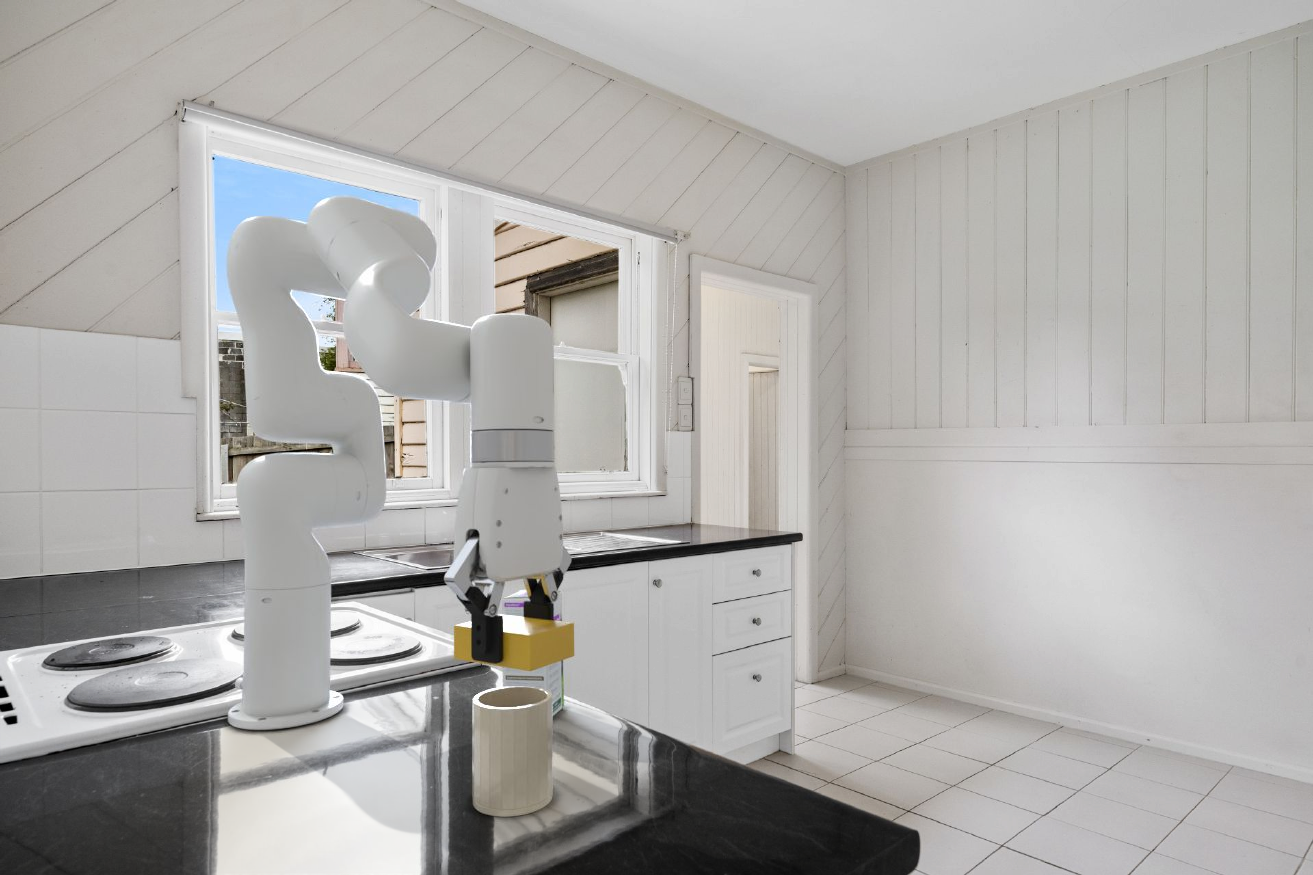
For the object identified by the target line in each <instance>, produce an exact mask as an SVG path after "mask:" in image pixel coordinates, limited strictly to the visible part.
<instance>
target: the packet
mask: <svg viewBox="0 0 1313 875" xmlns="http://www.w3.org/2000/svg"><path fill="white" fill-rule="evenodd" d="M498 615H502V613H501V614H498ZM502 616H503V660H502V662H500V663H497V664H494V663H488V662H481V661H475V660H473V659H472V656H471V620H470V621H467V622H462V623H459V624H454V625H453V659H454V660H458V661H464V662H471V663H477V664H483V665H490V666H496V667H501V668H503V667H507V668H513V669H519V670H525V671H533V670H536V669H539V668H541V667H544V666H547V665H550V664H553V663H556V662H559V661H562V660H563V661H565V660H567V659H571V658H573V657H575V622H570V621H563V620H562V621H554V620H545V619H536V618H528V617H519V616H511V615H502Z"/></svg>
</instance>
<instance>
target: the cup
mask: <svg viewBox="0 0 1313 875" xmlns="http://www.w3.org/2000/svg"><path fill="white" fill-rule="evenodd" d="M471 702H472V704H471V705H472V708H471V709H472V711H471V712H472V714H471V718H472V721H471V722H472V723H471V729H472V731H471V732H472V733H471V734H472V735H471V737H472V738H471V742H472V743H471V755H472V756H471V761H472V762H471V764H472V765H471V796H472V806H473V808H474V809H475V811H477V812H479V813H480V814H484V815H488V816H492V817H501V818H502V817H503V818H504V817H505V818H508V817H518V816H522V815H528V814H531V813H534V812H537V811H540V810H542V809H543V808H545V807H547V805H549V804H550V803H551V801H552V799H553V795H554V794H553V792H554V790H553V789H554V767H553V766H554V754H553V753H554V750H553V749H554V748H553V747H554V746H553V745H554V742H553V741H554V740H553V739H554V738H553V737H554V736H553V734H554V733H553V732H554V729H553V728H554V726H553V724H554V723H553V722H554V720H553V719H554V716H553V695H552V693H551V692H550V691H549V690H546V689H544V688H540V687H533V686H507V687H503V686H499V687H495V688H490V689H486V690H484V691H480V692H479V693H478V694H476V695H474V696H473V698H472V701H471Z"/></svg>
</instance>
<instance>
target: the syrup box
mask: <svg viewBox="0 0 1313 875" xmlns="http://www.w3.org/2000/svg"><path fill="white" fill-rule="evenodd" d="M557 591H558V599H557V601H556V602H552V603H554V621H562V622H563V596H562V594H563V593H562V591H561V590H559V589H558V590H557ZM524 601H530V599H529V598H528V595H527V591H526V589H519V590H518V591H517V592H515V593H512V594H510V595H508V596H504V597H502V598H501V600H500V602H501V614H502V615H511V616H519V617H524V613H523V606H524ZM507 686H533V687H540V688H544V689H546V690H549V691H550V692H551V693H552V695H553V717H554V716H555V715H556V714H557V713H558V712H560V711H561V710H562V709H563V708H564V707H565V693H564V692H565V689H564V687H565V686H564V660H562V661H559V662H556V663H553V664H550V665H547V666H544V667H541V668H539V669H536V670H533V671H525V670H519V669H513V668H507V667H502V687H507Z"/></svg>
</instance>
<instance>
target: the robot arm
mask: <svg viewBox="0 0 1313 875" xmlns="http://www.w3.org/2000/svg"><path fill="white" fill-rule="evenodd" d="M227 248H228V249H227V253H226V254H227V255H226V277H227V283H228V288H229V293H230V296H231V300H232V303H233V305H234V309H235V311H236V314H237V317H238V322H239V324H240V329H241V334H242V342H243V343H242V346H243V367H244V369H243V370H244V371H243V372H244V388H245V404H246V414H247V420H248V424H249V427H250V429H251V431H252V433H253V434H254V435H255V436H256V437H258V438H260V439H262V440H264V441H268V442H274V443H282V444H283V443H286V444H317V445H318V444H319V445H331V448H332V451H333V452H332V453H323V452H322V453H320V452H275V453H269V454H264V455H260V456H257V457H255V458H254V459H252V460H250V461H249V462H248V463H246V464H245V465H244V466H243V467H242V469H241V470H240V472H239V474H238V477H237V480H236V488H235V490H236V492H235V493H236V502H237V508H238V513H239V519H240V525H241V530H242V539H243V556H244V608H243V609H244V610H243V674H242V677H238V678H236V680H235V681H234V687H235V688H236V689H238V690H241V701H240V702H238V703H237V704H235V705H233V706H232V707H231V708H230V709H228V712H227V723H229V725H231V726H232V727H234V728H237V729H241V730H242V729H243V730H250V731H252V730H254V731H268V730H269V731H270V730H281V729H288V728H295V727H300V726H304V725H309V724H313V723H317V722H319V721H320V722H321V721H322V720H325V719H327V718H330V717H332V716H334V715H336V714H337V713H339V712H341V710H342V709H343V708H344V704H345V703H344V701H345V700H344V696H343V695H342V694H341V693H339V692H337V691H335V690H331V649H332V648H331V646H332V645H331V641H332V640H331V639H332V638H331V637H332V636H331V634H332V633H331V631H332V626H331V625H332V567H331V562H330V558H329V556H328V554H327V553H326V551H325V550H324V547H323V546H322V545H321V544H320V542H319V541H318V539H317V537H315V534H314V533H313V530H320V529H321V530H322V529H333V528H335V529H336V528H347V527H348V528H349V527H358V526H363V525H367V524H370V523H372V522H374V521H375V520H377V518H378V517H379V516H380V515H381V513H382V512H383V509H384V507H385V504H386V499H387V468H386V467H387V466H386V452H385V440H384V438H385V437H384V426H383V423H384V422H383V414H382V407H381V401H380V399H379V396H378V393H377V391H376V390H375V388H374V386H373V385H372V384H371V383H370V382H369V381H368V380H367V379H366V378H364V377H363V376H360V375H357V374H353V373H350V372H341V371H332V370H325V369H324V368H323V366H322V365H321V360H320V353H319V352H320V351H319V336H318V333H317V330H316V327H315V326H314V324H313V322H312V321H311V319H310V318H309V316H308V314H307V313H306V311H305V310H304V308H303V307H302V306H301V305H300V304H299V303H298V301H297V300H296V299H295V298H294V297H293V295H292V292H297V293H298V292H299V293H303V294H308V295H313V296H319V297H323V298H324V297H325V298H330V299H335V300H339V301H340V300H341V301H344V304H343V309H342V329H343V337H344V341H345V345H346V347H347V349H348V351H349V353H350V354H351V356H352V357H353V359H354V360H355V361H356V363H357V364H358V365H359V367H360V368H361V370H362V371H363V372H364V373H365V375H366V376H367V378H369V379H370V381H371V382H372V383H373V384H374V385H375V386H377V387H378V388H379V389H380V390H382V391H384V392H385V393H387V394H389V395H391V396H393V397H397V398H402V399H407V400H408V399H409V400H421V401H422V400H423V401H434V402H435V401H436V402H438V401H439V402H449V403H453V404H454V403H455V404H468V405H469V406H470V407H469V408H470V410H469V411H470V412H469V414H470V415H469V417H470V419H469V420H470V426H469V427H470V433H469V434H470V436H469V438H470V440H469V441H470V443H469V444H470V445H469V446H470V448H469V449H470V451H469V452H470V456H469V457H470V461H469V462H470V468H469V467H468V468H467V467H466V468H465V467H464V468H463V471H462V476H461V480H460V485H459V490H458V496H457V504H456V510H455V522H454V525H455V526H454V539H453V540H454V541H453V562H452V563H451V565H450V566H449V568H448V569H447V571H446V572H445V574H444V576H443V581H444V583H445V584H446V585H447V587H448V588H449V589H450V590H451V591H452V592H453V594H456V598H457V600H458V602H460V603H461V604H462V605H463V606H464V611H465V613H466V614H467V615H471V616H470V621H471V656H472V659H473V660H475V661H481V662H488V663H494V664H497V663H500V662H502V660H503V616H502V615H499V614H498V612H499V608H500V604H501V599H502V598H503V597H502V596H503V592H504V588H505V585H506V582H511V581H517V580H522V581H523V584H524V587H525V590H526V591H527V595H528V598H529V599H530V601H524V606H523V613H524V617H528V618H536V619H545V620H554V603H552V602H556V601H557V599H558V591H559V588H560V587H561V585H562V583H563V581H564V576H565V574H566V573H567V571H568V569H569V567H570V565H571V564H572V556H571V555H570V553H569V551H568V550H567V548H566V547H565V545H564V524H563V522H564V520H563V510H562V498H561V491H560V484H559V478H558V472H557V468H556V467H555V459H556V458H555V450H556V448H555V377H554V376H555V360H554V359H555V358H554V356H555V355H554V354H555V353H554V352H555V351H554V350H555V349H554V344H555V342H554V333H553V329H552V327H551V325H550V324H549V322H547V321H546V320H545V319H544V318H541V317H538V316H535V315H530V314H525V313H524V314H523V313H493V314H489V315H485V316H482V317H480V318H478V319H476V321H475V322H474V323H473V325H472V326H467V325H462V324H457V323H452V322H446V321H441V320H435V319H431V318H423V317H417V316H412V315H414V314H415V313H416V312H417V311H418V310H419V309H420V308H421V307H423V305H424V304H425V303H426V300H427V299H428V297H429V294H430V291H431V288H432V276H431V274H432V273H433V271H434V269H435V267H436V264H437V259H438V244H437V240H436V237H435V235H434V232H433V231H432V229H431V227H430V226H429V225H428V224H427V223H426V222H425V220H423V219H421V218H420V217H419V216H417V215H414V214H412V213H409V212H407V211H404V210H403V211H402V210H399V209H397V208H394V207H390V206H386V205H383V204H380V203H376V202H373V201H370V200H367V199H364V198H360V197H356V196H352V195H351V196H350V195H336V196H335V195H334V196H330V197H327V198H325V199H322V200H321V201H319V202H318V203H316V205H315V206H314V207H313V208H312V209H311V210H310V212H309V214H308V216H307V221H306V222H304V221H301V220H296V219H292V218H287V217H281V216H273V215H259V216H257V215H255V216H251V217H249V218H246V219H244V220H243V221H241V222H240V223H239V224H237V226H236V227H235V229H234V230H233V232H232V234H231V236H230V240H229V243H228V247H227ZM485 587H486V588H487V587H488V592H487V595H486V594H484V591H485V589H486V588H485ZM557 590H558V591H557Z"/></svg>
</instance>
